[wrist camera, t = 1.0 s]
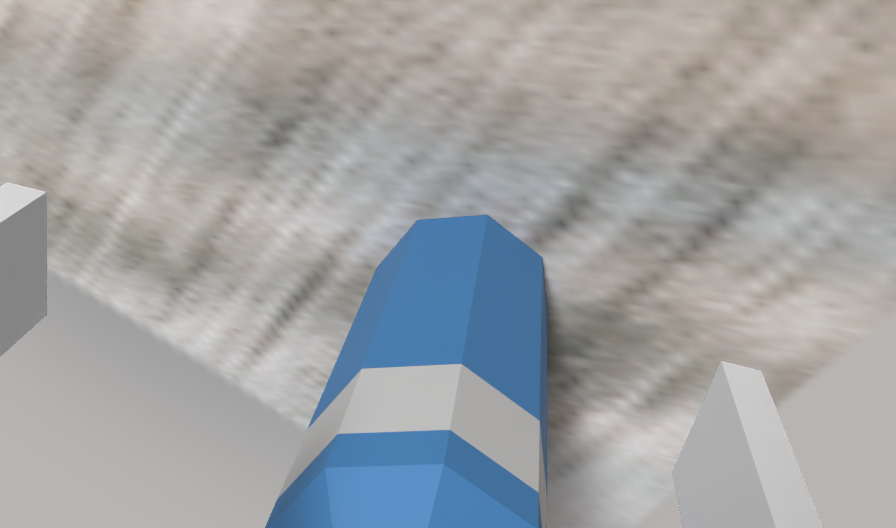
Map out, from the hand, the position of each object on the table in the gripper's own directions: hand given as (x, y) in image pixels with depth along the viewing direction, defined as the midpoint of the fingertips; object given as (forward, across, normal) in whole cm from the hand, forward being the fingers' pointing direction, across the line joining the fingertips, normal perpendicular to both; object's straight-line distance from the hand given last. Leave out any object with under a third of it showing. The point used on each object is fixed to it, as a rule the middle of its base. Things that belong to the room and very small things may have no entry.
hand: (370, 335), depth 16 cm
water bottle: (+25, +2, -12) cm, 28 cm away
